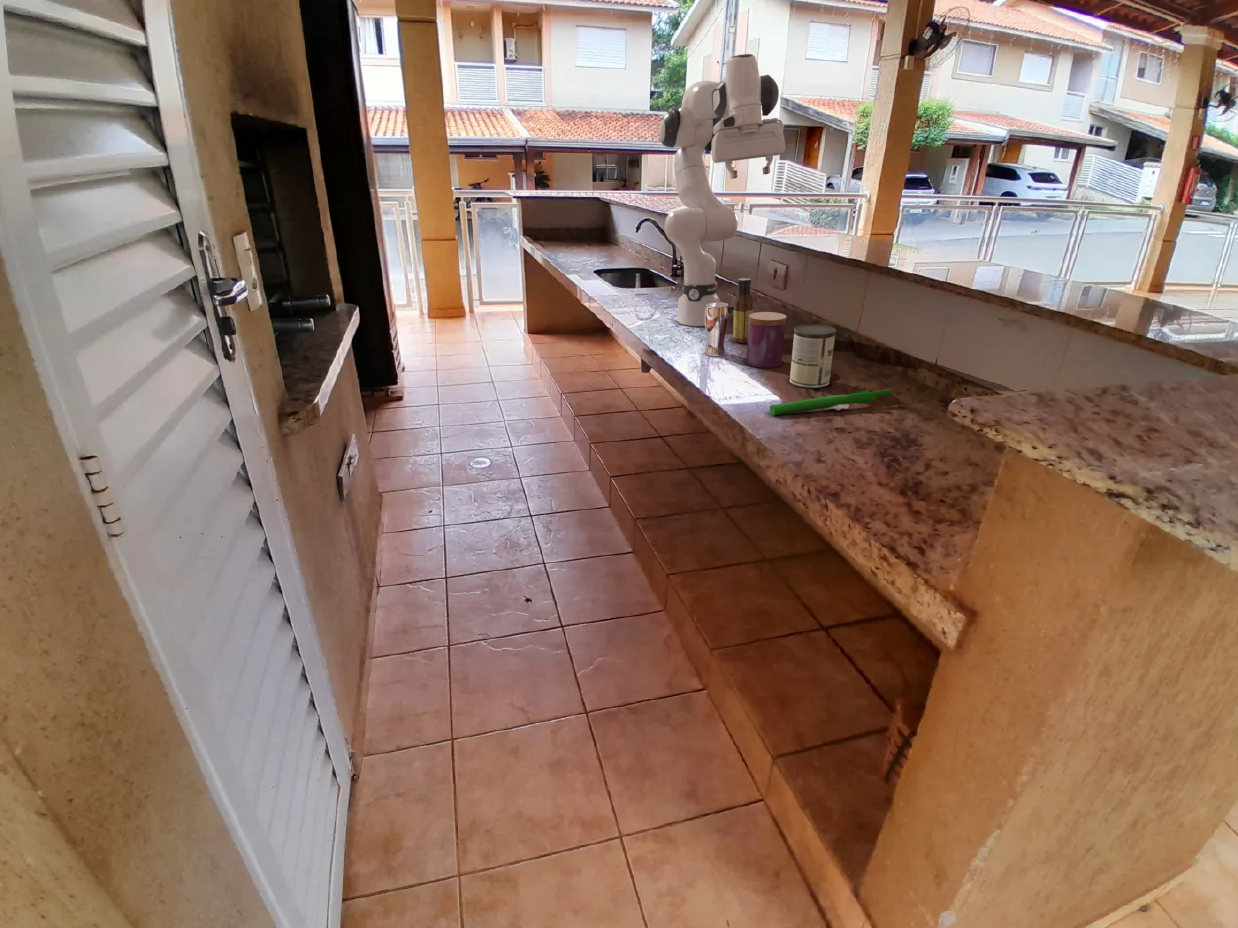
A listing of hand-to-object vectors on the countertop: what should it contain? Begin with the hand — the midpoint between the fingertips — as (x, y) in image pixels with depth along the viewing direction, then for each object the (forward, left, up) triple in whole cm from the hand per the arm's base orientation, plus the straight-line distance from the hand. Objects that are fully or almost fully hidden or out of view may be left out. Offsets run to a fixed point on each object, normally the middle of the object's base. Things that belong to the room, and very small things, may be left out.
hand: (750, 176), depth 171 cm
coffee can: (+25, +25, -49) cm, 61 cm away
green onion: (+43, +33, -49) cm, 74 cm away
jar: (+12, +10, -49) cm, 52 cm away
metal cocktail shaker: (+8, -6, -49) cm, 50 cm away
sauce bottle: (-9, -2, -49) cm, 50 cm away
